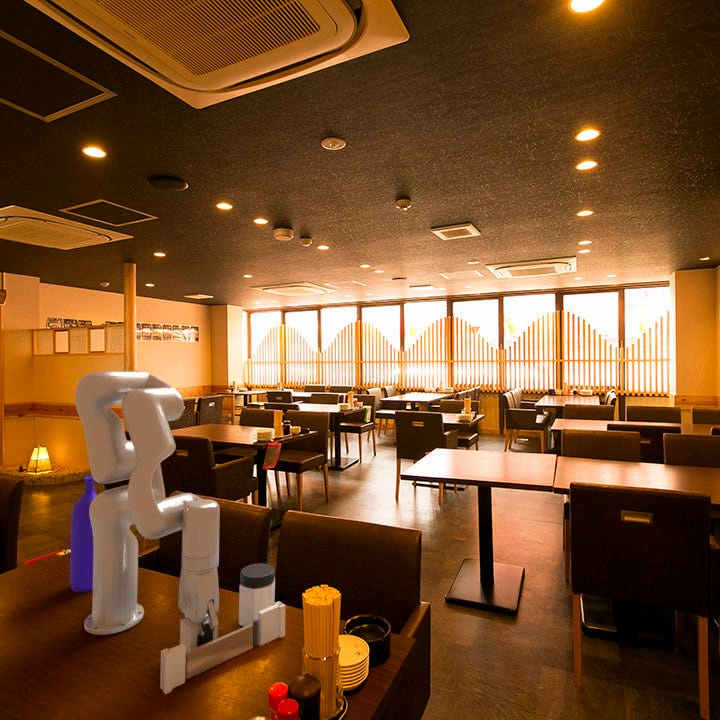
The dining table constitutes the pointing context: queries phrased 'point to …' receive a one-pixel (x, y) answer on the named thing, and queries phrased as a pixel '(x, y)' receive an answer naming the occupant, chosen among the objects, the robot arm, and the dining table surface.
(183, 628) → the block
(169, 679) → the white flat upright blocks
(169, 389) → the robot arm
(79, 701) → the dining table surface
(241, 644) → the gate
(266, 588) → the jar
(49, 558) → the dining table surface
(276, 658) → the dining table surface
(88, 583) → the bottle
